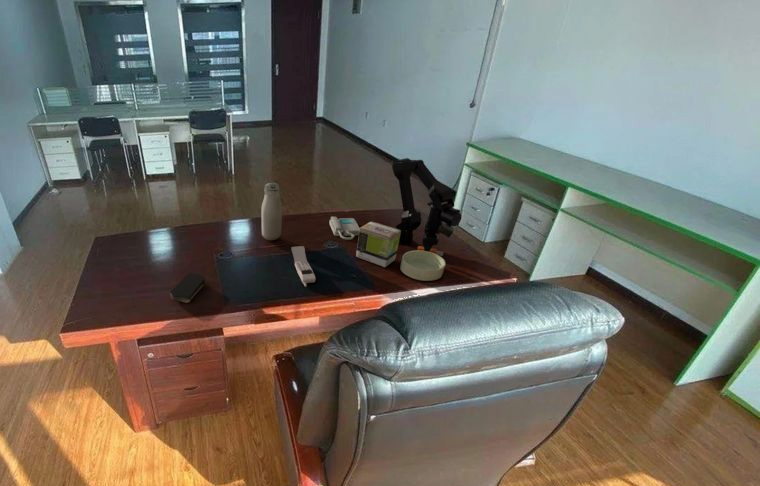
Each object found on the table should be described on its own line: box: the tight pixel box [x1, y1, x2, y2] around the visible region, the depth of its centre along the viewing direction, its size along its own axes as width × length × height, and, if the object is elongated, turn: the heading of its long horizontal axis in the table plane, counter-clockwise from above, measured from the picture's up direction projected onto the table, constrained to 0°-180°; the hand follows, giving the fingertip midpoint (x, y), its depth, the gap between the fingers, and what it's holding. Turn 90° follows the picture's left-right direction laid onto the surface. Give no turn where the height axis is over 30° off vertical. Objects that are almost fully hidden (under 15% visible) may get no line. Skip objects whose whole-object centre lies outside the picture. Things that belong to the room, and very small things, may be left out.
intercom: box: [329, 216, 361, 241], centre depth 200 cm, size 13×4×25 cm
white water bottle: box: [260, 182, 283, 241], centre depth 188 cm, size 10×10×28 cm
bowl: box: [399, 249, 446, 282], centre depth 168 cm, size 17×17×6 cm
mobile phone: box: [290, 245, 317, 288], centre depth 169 cm, size 6×6×25 cm
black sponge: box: [169, 272, 206, 304], centre depth 158 cm, size 16×8×4 cm, turn 160°
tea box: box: [355, 221, 401, 268], centre depth 175 cm, size 15×10×15 cm
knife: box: [417, 245, 444, 257], centre depth 181 cm, size 11×3×3 cm, turn 67°
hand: (427, 249), depth 181 cm, fingers open, 9 cm apart
